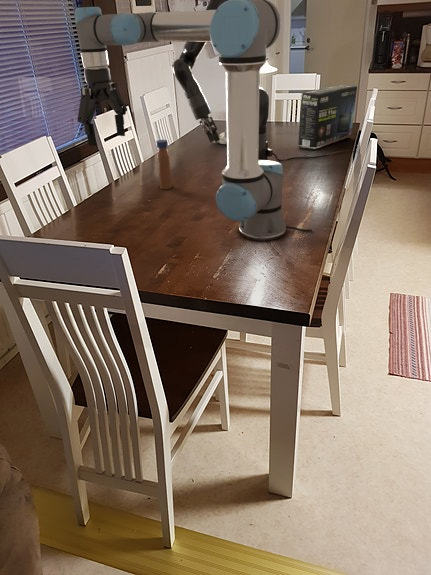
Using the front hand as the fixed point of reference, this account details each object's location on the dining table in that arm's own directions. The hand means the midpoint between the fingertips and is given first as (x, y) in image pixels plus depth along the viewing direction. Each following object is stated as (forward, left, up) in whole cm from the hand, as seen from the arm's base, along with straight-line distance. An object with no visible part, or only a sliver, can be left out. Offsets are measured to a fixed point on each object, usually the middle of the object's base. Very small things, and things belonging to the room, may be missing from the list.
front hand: (107, 140), depth 148 cm
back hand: (-1, -67, -15) cm, 68 cm away
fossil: (+19, -113, -28) cm, 118 cm away
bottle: (+6, -37, -28) cm, 47 cm away
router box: (-31, -132, -28) cm, 138 cm away
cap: (+6, -37, -9) cm, 38 cm away
